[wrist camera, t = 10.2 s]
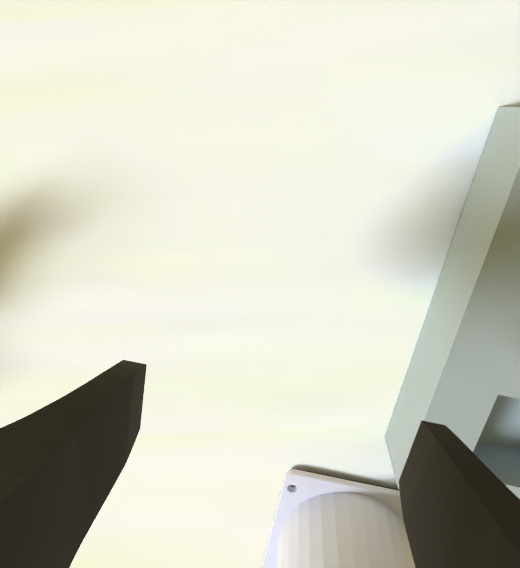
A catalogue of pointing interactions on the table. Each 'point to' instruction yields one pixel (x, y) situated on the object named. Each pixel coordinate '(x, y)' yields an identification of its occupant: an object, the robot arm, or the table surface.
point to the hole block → (474, 323)
